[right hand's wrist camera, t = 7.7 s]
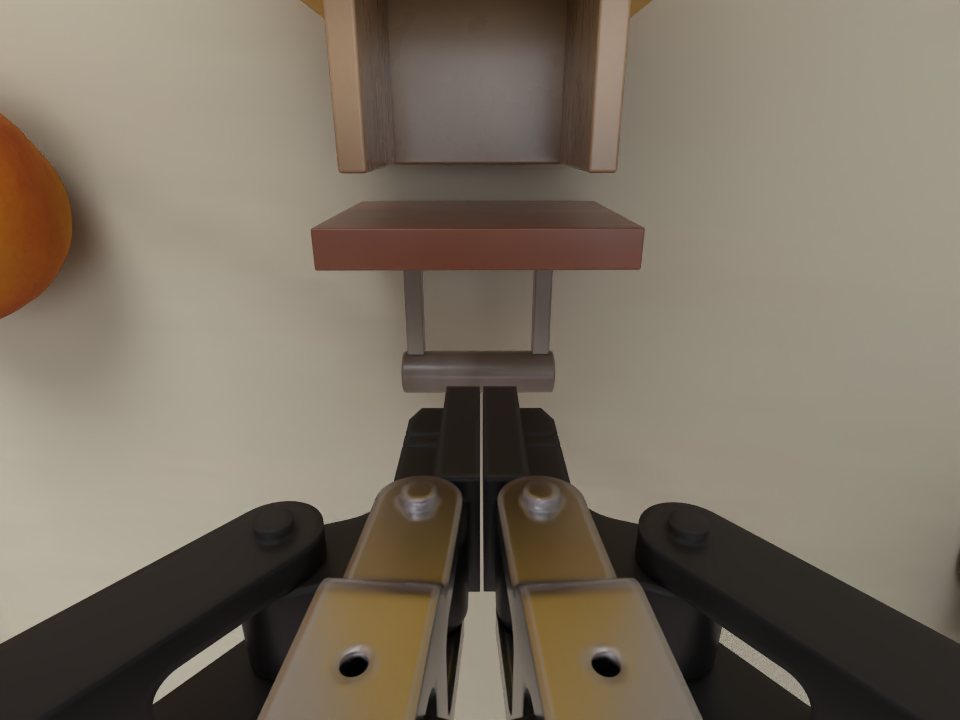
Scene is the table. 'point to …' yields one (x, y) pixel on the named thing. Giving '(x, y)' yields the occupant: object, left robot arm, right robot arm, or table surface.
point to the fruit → (29, 220)
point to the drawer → (477, 153)
